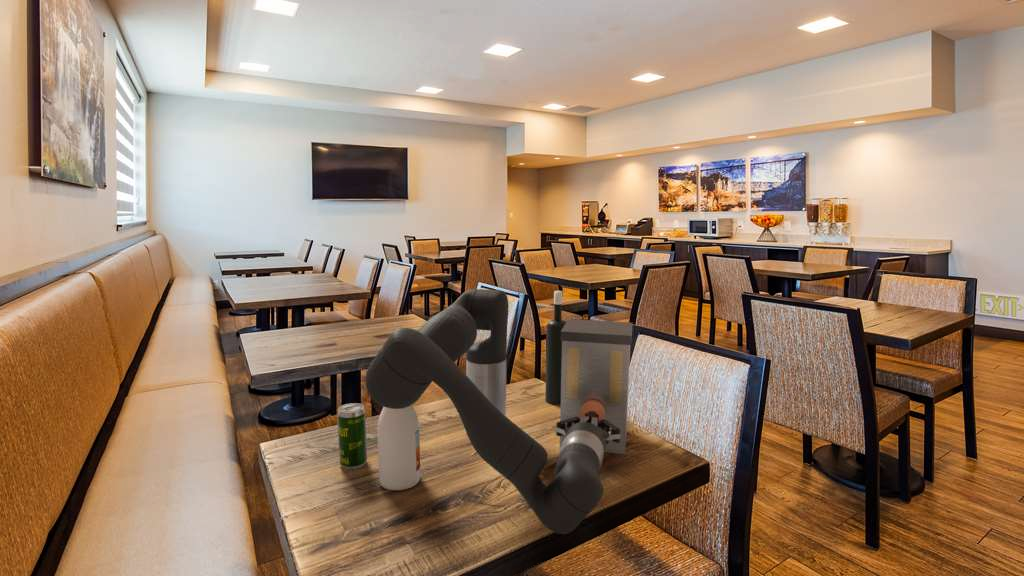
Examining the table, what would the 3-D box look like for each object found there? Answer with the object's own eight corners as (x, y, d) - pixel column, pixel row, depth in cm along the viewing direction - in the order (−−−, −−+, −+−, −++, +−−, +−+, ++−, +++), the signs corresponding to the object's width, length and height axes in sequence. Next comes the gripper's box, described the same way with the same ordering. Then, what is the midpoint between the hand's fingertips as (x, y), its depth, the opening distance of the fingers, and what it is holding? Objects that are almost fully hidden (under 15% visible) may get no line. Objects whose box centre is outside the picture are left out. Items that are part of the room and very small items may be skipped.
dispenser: (626, 455, 115) (631, 335, 110) (558, 447, 118) (560, 331, 114) (627, 431, 127) (632, 322, 123) (566, 424, 130) (568, 319, 126)
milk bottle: (411, 494, 99) (408, 389, 96) (372, 489, 100) (368, 386, 97) (426, 473, 106) (424, 375, 103) (389, 469, 108) (386, 373, 105)
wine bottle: (568, 398, 148) (571, 289, 143) (564, 405, 142) (567, 293, 138) (547, 395, 149) (549, 288, 145) (543, 403, 144) (545, 292, 139)
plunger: (604, 428, 113) (604, 404, 112) (579, 425, 114) (579, 402, 113) (608, 404, 126) (609, 382, 125) (585, 402, 127) (586, 380, 127)
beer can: (357, 455, 114) (355, 400, 112) (372, 463, 110) (370, 407, 108) (334, 464, 110) (331, 408, 108) (349, 473, 106) (347, 415, 104)
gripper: (545, 466, 98) (560, 429, 115) (619, 475, 95) (624, 436, 112) (546, 426, 97) (561, 395, 114) (621, 435, 94) (625, 401, 111)
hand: (592, 415), depth 113 cm, fingers closed
